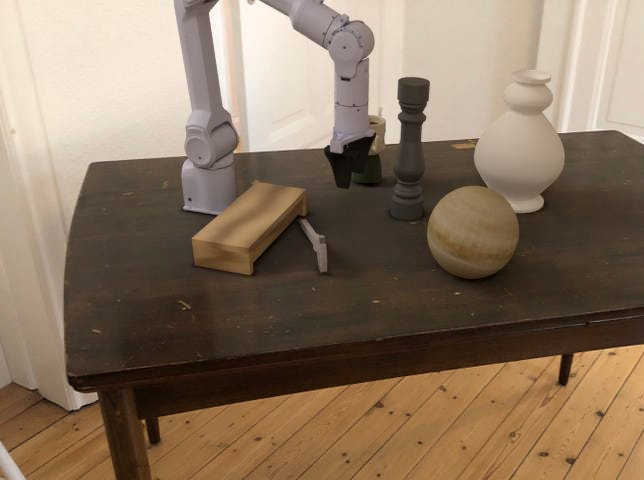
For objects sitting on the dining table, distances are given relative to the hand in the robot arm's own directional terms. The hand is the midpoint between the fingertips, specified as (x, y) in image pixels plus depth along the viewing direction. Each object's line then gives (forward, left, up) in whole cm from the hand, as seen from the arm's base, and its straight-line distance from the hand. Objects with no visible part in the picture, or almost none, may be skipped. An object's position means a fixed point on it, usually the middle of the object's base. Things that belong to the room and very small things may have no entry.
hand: (350, 180), depth 131 cm
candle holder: (+8, +11, -10) cm, 17 cm away
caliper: (-4, -9, -10) cm, 14 cm away
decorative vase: (+27, +25, -10) cm, 38 cm away
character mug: (-4, +24, -10) cm, 27 cm away
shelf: (-15, -9, -10) cm, 20 cm away
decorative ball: (+24, -9, -10) cm, 27 cm away
